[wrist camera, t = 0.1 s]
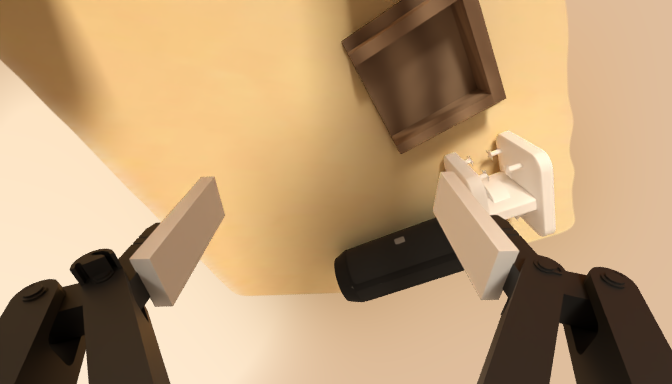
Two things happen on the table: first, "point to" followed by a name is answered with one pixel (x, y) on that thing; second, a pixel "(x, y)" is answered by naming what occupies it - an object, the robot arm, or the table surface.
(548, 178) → the cable organizer
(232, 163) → the table surface
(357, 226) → the table surface
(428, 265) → the portable speaker
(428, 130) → the brown wooden tray
